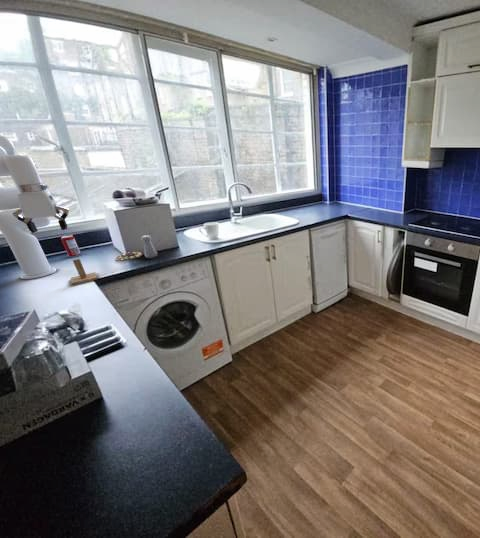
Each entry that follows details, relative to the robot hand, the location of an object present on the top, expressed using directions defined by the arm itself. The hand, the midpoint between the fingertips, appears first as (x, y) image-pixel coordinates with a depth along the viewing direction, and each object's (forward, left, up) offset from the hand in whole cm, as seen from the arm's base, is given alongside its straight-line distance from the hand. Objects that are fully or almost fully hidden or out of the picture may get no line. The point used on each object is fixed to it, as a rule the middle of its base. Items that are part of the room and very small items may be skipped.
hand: (49, 230), depth 123 cm
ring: (-23, +24, -24) cm, 41 cm away
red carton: (-56, +2, -25) cm, 61 cm away
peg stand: (-4, +4, -25) cm, 26 cm away
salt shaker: (-14, +33, -25) cm, 44 cm away
